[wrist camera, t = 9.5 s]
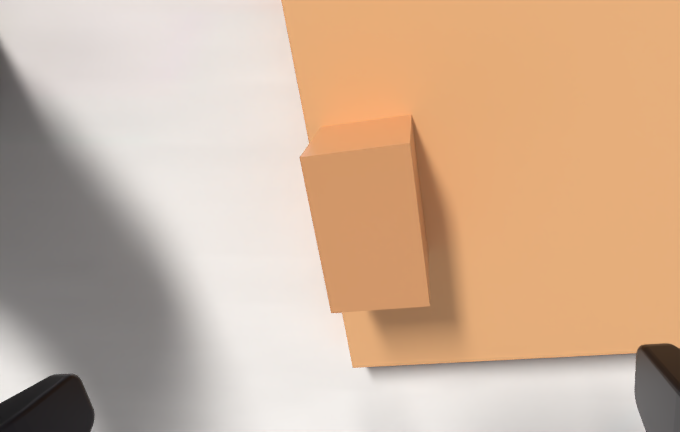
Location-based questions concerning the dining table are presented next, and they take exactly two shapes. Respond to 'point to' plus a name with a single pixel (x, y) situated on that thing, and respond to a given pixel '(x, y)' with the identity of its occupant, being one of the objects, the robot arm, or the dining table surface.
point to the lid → (493, 174)
